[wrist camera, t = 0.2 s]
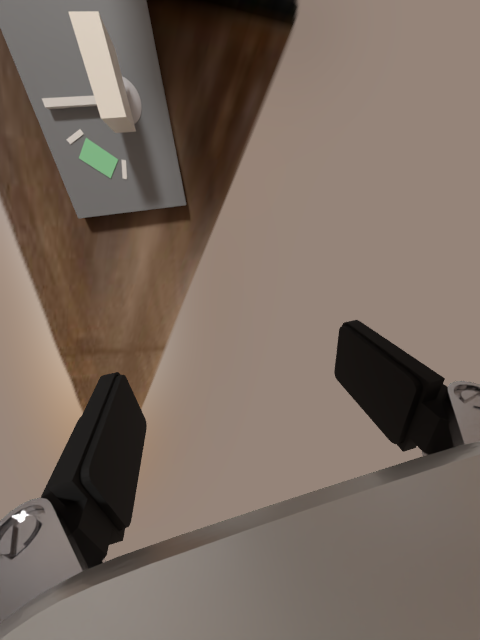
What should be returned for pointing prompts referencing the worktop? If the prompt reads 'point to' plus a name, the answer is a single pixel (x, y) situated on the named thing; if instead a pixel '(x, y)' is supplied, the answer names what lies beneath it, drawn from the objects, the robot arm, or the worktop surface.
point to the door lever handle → (98, 74)
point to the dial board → (85, 122)
